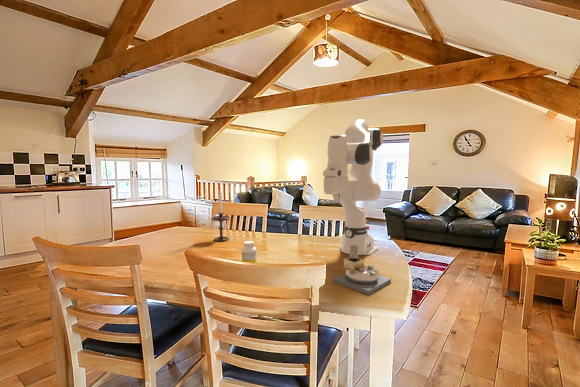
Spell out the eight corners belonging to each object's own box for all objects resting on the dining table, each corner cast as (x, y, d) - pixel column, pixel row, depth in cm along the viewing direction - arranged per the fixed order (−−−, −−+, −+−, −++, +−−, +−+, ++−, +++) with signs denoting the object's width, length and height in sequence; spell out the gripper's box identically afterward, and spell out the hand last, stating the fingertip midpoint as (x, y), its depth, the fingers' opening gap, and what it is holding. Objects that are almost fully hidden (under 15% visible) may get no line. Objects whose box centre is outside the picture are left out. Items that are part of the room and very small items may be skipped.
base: (355, 271, 136) (355, 262, 136) (390, 282, 124) (391, 272, 123) (332, 281, 124) (332, 272, 124) (368, 294, 112) (369, 284, 112)
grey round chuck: (384, 279, 122) (385, 263, 122) (363, 287, 115) (363, 270, 114) (358, 269, 134) (359, 255, 133) (337, 275, 126) (337, 260, 125)
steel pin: (348, 266, 128) (349, 246, 127) (353, 265, 130) (354, 244, 129) (353, 268, 126) (354, 247, 125) (358, 267, 127) (359, 246, 126)
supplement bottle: (246, 266, 143) (245, 239, 141) (259, 267, 141) (258, 240, 139) (239, 271, 136) (239, 243, 135) (253, 272, 134) (252, 244, 133)
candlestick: (213, 243, 183) (212, 185, 179) (211, 238, 193) (209, 184, 189) (231, 241, 186) (230, 185, 183) (228, 237, 197) (227, 183, 193)
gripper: (339, 170, 143) (339, 199, 145) (321, 172, 126) (320, 204, 127) (352, 171, 140) (351, 200, 142) (335, 172, 123) (334, 206, 124)
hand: (336, 202), depth 134 cm, fingers closed
